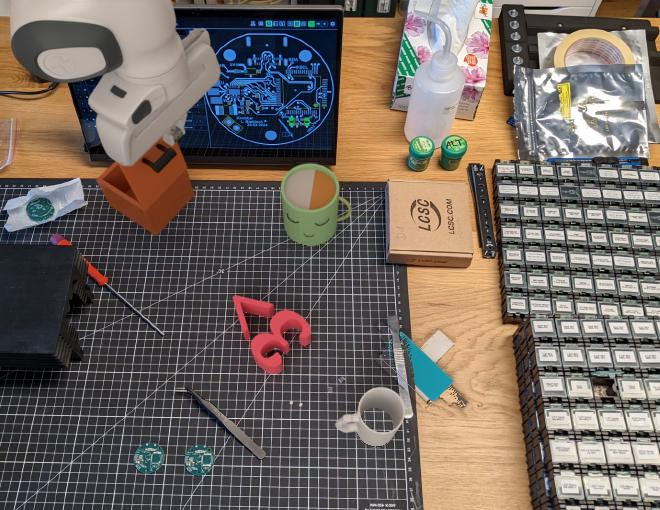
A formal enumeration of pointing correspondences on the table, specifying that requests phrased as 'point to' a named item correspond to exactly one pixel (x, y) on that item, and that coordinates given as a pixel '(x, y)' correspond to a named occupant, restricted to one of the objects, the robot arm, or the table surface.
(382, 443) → the mug
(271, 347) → the red number figure
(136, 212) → the parts case
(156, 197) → the case lid
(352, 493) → the table surface
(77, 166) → the table surface
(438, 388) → the phone stand
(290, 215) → the mug
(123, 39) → the robot arm
